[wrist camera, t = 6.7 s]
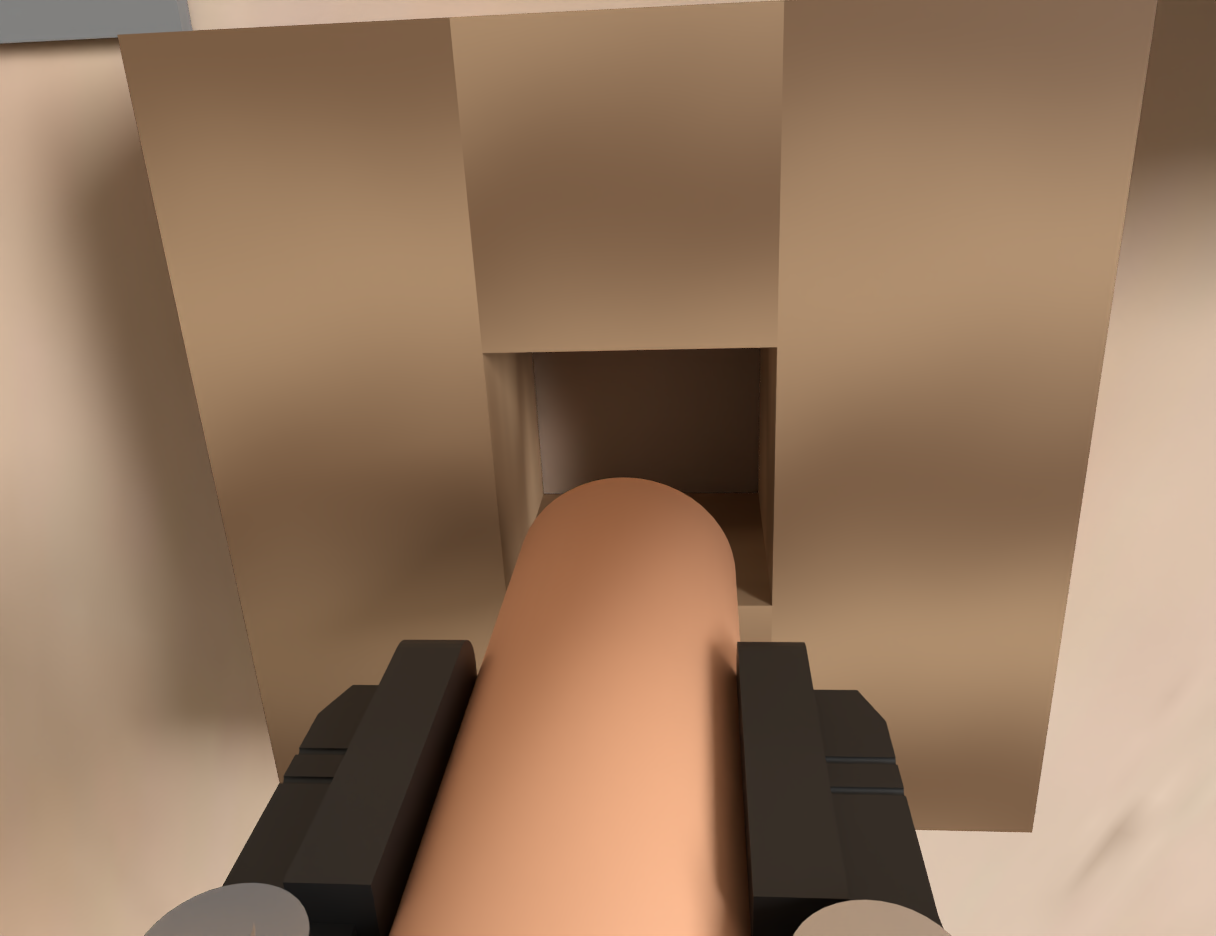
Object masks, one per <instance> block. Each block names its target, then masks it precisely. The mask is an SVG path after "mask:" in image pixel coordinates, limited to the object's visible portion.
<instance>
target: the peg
mask: <svg viewBox="0 0 1216 936" xmlns="http://www.w3.org/2000/svg"><path fill="white" fill-rule="evenodd" d="M737 642H740V631H739V616H738V601H737V585H736V571H735V562H734V557H733V553H732V550H731V547H730V545H729V542H728V539H727V538H726V536H725V534H724V532H723V530H722V529H721V527H720V526H719V524H718V523H717V522H716V520H715V519H714V518H713V517H712V516H711V515H710V514H709V513H708V512H707V511H706V510H705V509H704V507H702V506H701V505H700V504H699V503H697V502H696V501H695V500H693V499H692V498H691V497H689V496H687V495H685V494H684V493H682V492H680V491H679V490H676V489H674V488H672V487H669V486H667V485H664V484H661V483H658V482H654V481H651V480H645V479H639V478H625V477H620V478H607V479H602V480H596V481H592V482H589V483H586V484H583V485H580V486H577V487H575V488H573V489H571V490H569V491H567V492H565V493H564V494H562V495H561V496H559V497H558V498H556V499H555V500H554V501H552V502H551V503H550V504H549V505H548V506H547V507H545V508H544V510H543V511H542V512H541V513H540V514H539V515H538V516H537V518H536V519H535V520H534V522H533V524H532V525H531V527H530V528H529V530H528V532H527V535H526V537H525V539H524V541H523V544H522V547H521V550H520V553H519V556H518V559H517V562H516V565H515V568H514V571H513V574H512V577H511V579H510V582H509V585H508V588H507V591H506V594H505V597H504V600H503V603H502V606H501V609H500V612H499V615H498V617H497V620H496V623H495V626H494V629H493V632H492V635H491V638H490V641H489V644H488V647H487V650H486V653H485V655H484V658H483V661H482V664H481V667H480V670H479V673H478V676H477V679H476V682H475V685H474V688H473V691H472V694H471V696H470V699H469V702H468V705H467V708H466V711H465V714H464V717H463V720H462V723H461V726H460V729H459V732H458V734H457V737H456V740H455V743H454V746H453V749H452V752H451V755H450V758H449V761H448V764H447V767H446V770H445V772H444V775H443V778H442V781H441V784H440V787H439V790H438V793H437V796H436V799H435V802H434V805H433V808H432V811H431V813H430V816H429V819H428V822H427V825H426V828H425V831H424V834H423V837H422V840H421V843H420V846H419V849H418V851H417V854H416V857H415V860H414V863H413V866H412V869H411V872H410V875H409V878H408V881H407V884H406V887H405V889H404V892H403V895H402V898H401V901H400V904H399V907H398V910H397V913H396V916H395V919H394V922H393V925H392V928H391V930H390V933H389V936H751V926H750V908H749V890H748V872H747V855H746V837H745V819H744V802H743V784H742V766H741V748H740V731H739V713H738V695H737V678H736V654H737Z"/></svg>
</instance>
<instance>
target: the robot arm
mask: <svg viewBox="0 0 1216 936" xmlns="http://www.w3.org/2000/svg"><path fill="white" fill-rule="evenodd" d="M736 678H737V695H738V713H739V731H740V748H741V766H742V784H743V802H744V819H745V837H746V855H747V872H748V890H749V908H750V926H751V936H951V935H950V934H949V933H948V932H947V931H945V930H944V928H943V927H942V924H941V921H940V919H939V916H938V913H937V909H936V906H935V902H934V898H933V894H932V891H931V887H930V883H929V880H928V876H927V872H926V868H925V865H924V861H923V857H922V853H921V850H920V846H919V842H918V839H917V835H916V831H915V827H914V824H913V820H912V816H911V812H910V809H909V805H908V801H907V798H906V796H904V786H903V783H902V779H901V775H900V771H899V768H898V765H896V757H895V753H894V749H893V745H892V742H891V738H890V734H889V730H888V727H887V723H886V721H885V720H884V718H883V717H882V716H881V715H880V714H879V713H878V712H877V711H876V710H875V709H874V708H873V706H872V705H871V704H870V703H869V702H868V701H867V700H866V699H865V698H864V697H863V696H862V695H861V693H860V692H859V691H858V690H814V689H813V683H812V677H811V672H810V666H809V660H808V654H807V649H806V645H805V642H737V654H736ZM476 679H477V668H476V660H475V653H474V649H473V646H472V644H471V642H470V641H469V640H402V641H401V642H400V643H399V645H398V646H397V648H396V650H395V652H394V654H393V656H392V659H391V661H390V663H389V665H388V667H387V669H386V671H385V673H384V675H383V677H382V679H381V681H380V683H379V685H352V686H351V687H349V688H348V689H347V690H346V691H345V692H343V693H342V694H341V695H340V696H339V697H337V698H336V699H335V700H334V701H333V702H331V703H330V704H329V705H328V706H327V707H325V708H324V709H323V710H322V711H321V712H319V713H318V715H317V716H316V718H315V720H314V722H313V724H312V725H311V727H310V729H309V731H308V733H307V734H306V736H305V738H304V740H303V742H302V743H301V745H300V747H299V754H298V755H295V756H294V758H293V760H292V761H291V763H290V765H289V767H288V769H287V770H286V772H285V774H284V776H283V777H284V780H283V783H279V785H278V787H277V789H276V790H275V792H274V794H273V796H272V798H271V799H270V801H269V803H268V805H267V807H266V808H265V810H264V812H263V814H262V816H261V817H260V819H259V821H258V823H257V825H256V826H255V828H254V830H253V832H252V834H251V835H250V837H249V839H248V841H247V843H246V844H245V846H244V848H243V850H242V852H241V853H240V855H239V857H238V859H237V861H236V863H235V864H234V866H233V868H232V870H231V872H230V873H229V875H228V877H227V879H226V881H225V882H224V884H223V886H222V887H219V888H216V889H212V890H209V891H207V892H204V893H202V894H199V895H197V896H195V897H193V898H191V899H189V900H187V901H185V902H183V903H182V904H180V905H179V906H177V907H176V908H174V909H173V910H171V911H170V912H168V913H167V914H166V915H165V916H163V917H162V918H161V919H160V920H159V921H157V922H156V923H155V924H154V925H153V926H152V927H151V928H150V930H149V931H148V932H147V933H146V934H145V935H144V936H389V933H390V930H391V928H392V925H393V922H394V919H395V916H396V913H397V910H398V907H399V904H400V901H401V898H402V895H403V892H404V889H405V887H406V884H407V881H408V878H409V875H410V872H411V869H412V866H413V863H414V860H415V857H416V854H417V851H418V849H419V846H420V843H421V840H422V837H423V834H424V831H425V828H426V825H427V822H428V819H429V816H430V813H431V811H432V808H433V805H434V802H435V799H436V796H437V793H438V790H439V787H440V784H441V781H442V778H443V775H444V772H445V770H446V767H447V764H448V761H449V758H450V755H451V752H452V749H453V746H454V743H455V740H456V737H457V734H458V732H459V729H460V726H461V723H462V720H463V717H464V714H465V711H466V708H467V705H468V702H469V699H470V696H471V694H472V691H473V688H474V685H475V682H476Z"/></svg>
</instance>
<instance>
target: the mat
mask: <svg viewBox="0 0 1216 936" xmlns="http://www.w3.org/2000/svg"><path fill="white" fill-rule="evenodd" d="M178 31H192V25H191V20H190V15H189V10H188V4H187V0H0V44H1V43H20V42H40V41H59V40H79V39H98V38H118V36H117V35H120V34H139V33H159V32H178Z"/></svg>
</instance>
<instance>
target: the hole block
mask: <svg viewBox="0 0 1216 936" xmlns="http://www.w3.org/2000/svg"><path fill="white" fill-rule="evenodd" d="M1157 2H1158V0H780V1H760V2H741V3H722V4H702V5H683V6H663V7H644V8H625V9H605V10H586V11H566V12H547V13H527V14H508V15H489V16H469V17H450V18H430V19H411V20H392V21H372V22H353V23H333V24H314V25H294V26H275V27H256V28H236V29H217V30H197V31H178V32H159V33H139V34H120V35H117V36H118V41H119V45H120V50H121V55H122V59H123V64H124V68H125V73H126V78H127V82H128V87H129V91H130V96H131V101H132V105H133V110H134V114H135V119H136V124H137V128H138V133H139V137H140V142H141V147H142V151H143V156H144V160H145V165H146V170H147V174H148V179H149V184H150V188H151V193H152V197H153V202H154V207H155V211H156V216H157V220H158V225H159V230H160V234H161V239H162V243H163V248H164V253H165V257H166V262H167V266H168V271H169V276H170V280H171V285H172V289H173V294H174V299H175V303H176V308H177V312H178V317H179V322H180V326H181V331H182V335H183V340H184V345H185V349H186V354H187V358H188V363H189V368H190V372H191V377H192V381H193V386H194V391H195V395H196V400H197V404H198V409H199V414H200V418H201V423H202V428H203V432H204V437H205V441H206V446H207V451H208V455H209V460H210V464H211V469H212V474H213V478H214V483H215V487H216V492H217V497H218V501H219V506H220V510H221V515H222V520H223V524H224V529H225V533H226V538H227V543H228V547H229V552H230V556H231V561H232V566H233V570H234V575H235V579H236V584H237V589H238V593H239V598H240V602H241V607H242V612H243V616H244V621H245V625H246V630H247V635H248V639H249V644H250V648H251V653H252V658H253V662H254V667H255V672H256V676H257V681H258V685H259V690H260V695H261V699H262V704H263V708H264V713H265V718H266V722H267V727H268V731H269V736H270V741H271V745H272V750H273V754H274V759H275V764H276V768H277V773H278V777H279V782H280V783H283V780H284V777H283V776H284V774H285V772H286V770H287V769H288V767H289V765H290V763H291V761H292V760H293V758H294V756H295V755H298V754H299V747H300V745H301V743H302V742H303V740H304V738H305V736H306V734H307V733H308V731H309V729H310V727H311V725H312V724H313V722H314V720H315V718H316V716H317V715H318V713H319V712H321V711H322V710H323V709H324V708H325V707H327V706H328V705H329V704H330V703H331V702H333V701H334V700H335V699H336V698H337V697H339V696H340V695H341V694H342V693H343V692H345V691H346V690H347V689H348V688H349V687H351V686H352V685H379V683H380V681H381V679H382V677H383V675H384V673H385V671H386V669H387V667H388V665H389V663H390V661H391V659H392V656H393V654H394V652H395V650H396V648H397V646H398V645H399V643H400V642H401V641H402V640H469V641H470V642H471V644H472V646H473V649H474V653H475V660H476V668H477V676H478V673H479V670H480V667H481V664H482V661H483V658H484V655H485V653H486V650H487V647H488V644H489V641H490V638H491V635H492V632H493V629H494V626H495V623H496V620H497V617H498V615H499V612H500V609H501V606H502V603H503V600H504V597H505V594H506V591H507V588H508V585H509V582H510V579H511V577H512V574H513V571H514V568H515V565H516V562H517V559H518V556H519V553H520V550H521V547H522V544H523V541H524V539H525V537H526V535H527V532H528V530H529V528H530V527H531V525H532V524H533V522H534V520H535V519H536V518H537V516H538V515H539V514H540V513H541V512H542V511H543V510H544V508H545V507H547V506H548V505H549V504H550V503H551V502H552V501H554V500H555V499H556V498H558V497H559V496H561V495H562V494H544V493H543V481H542V468H541V455H540V442H539V430H538V417H537V404H536V391H535V378H534V366H533V353H532V352H565V351H614V350H663V349H711V348H760V393H759V470H758V493H684V494H685V495H687V496H689V497H691V498H692V499H693V500H695V501H696V502H697V503H699V504H700V505H701V506H702V507H704V509H705V510H706V511H707V512H708V513H709V514H710V515H711V516H712V517H713V518H714V519H715V520H716V522H717V523H718V524H719V526H720V527H721V529H722V530H723V532H724V534H725V536H726V538H727V539H728V542H729V545H730V547H731V550H732V553H733V557H734V562H735V571H736V585H737V601H738V616H739V631H740V642H805V645H806V649H807V654H808V660H809V666H810V672H811V677H812V683H813V689H814V690H858V691H859V692H860V693H861V695H862V696H863V697H864V698H865V699H866V700H867V701H868V702H869V703H870V704H871V705H872V706H873V708H874V709H875V710H876V711H877V712H878V713H879V714H880V715H881V716H882V717H883V718H884V720H885V721H886V723H887V727H888V730H889V734H890V738H891V742H892V745H893V749H894V753H895V757H896V765H898V768H899V771H900V775H901V779H902V783H903V786H904V796H906V798H907V801H908V805H909V809H910V812H911V816H912V820H913V824H914V827H915V830H949V831H994V832H1032V829H1033V822H1034V815H1035V809H1036V802H1037V795H1038V789H1039V782H1040V776H1041V769H1042V762H1043V756H1044V749H1045V743H1046V736H1047V729H1048V723H1049V716H1050V710H1051V703H1052V696H1053V690H1054V683H1055V676H1056V670H1057V663H1058V657H1059V650H1060V643H1061V637H1062V630H1063V624H1064V617H1065V610H1066V604H1067V597H1068V590H1069V584H1070V577H1071V571H1072V564H1073V557H1074V551H1075V544H1076V538H1077V531H1078V524H1079V518H1080V511H1081V504H1082V498H1083V491H1084V485H1085V478H1086V471H1087V465H1088V458H1089V452H1090V445H1091V438H1092V432H1093V425H1094V419H1095V412H1096V405H1097V399H1098V392H1099V385H1100V379H1101V372H1102V366H1103V359H1104V352H1105V346H1106V339H1107V333H1108V326H1109V319H1110V313H1111V306H1112V299H1113V293H1114V286H1115V280H1116V273H1117V266H1118V260H1119V253H1120V247H1121V240H1122V233H1123V227H1124V220H1125V214H1126V207H1127V200H1128V194H1129V187H1130V180H1131V174H1132V167H1133V161H1134V154H1135V147H1136V141H1137V134H1138V128H1139V121H1140V114H1141V108H1142V101H1143V94H1144V88H1145V81H1146V75H1147V68H1148V61H1149V55H1150V48H1151V42H1152V35H1153V28H1154V22H1155V15H1156V8H1157Z"/></svg>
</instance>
